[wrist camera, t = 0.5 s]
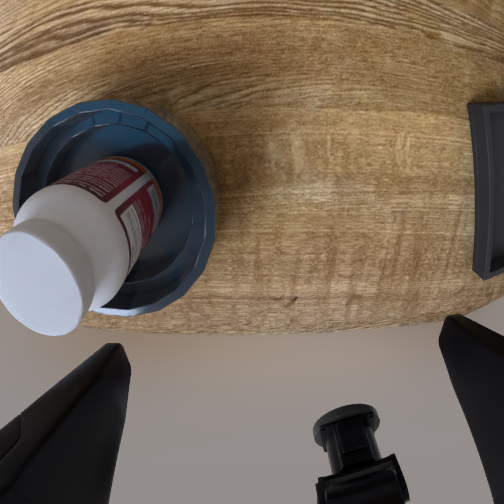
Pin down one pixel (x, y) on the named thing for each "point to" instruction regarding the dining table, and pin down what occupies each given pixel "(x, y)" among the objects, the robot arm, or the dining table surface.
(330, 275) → the dining table surface
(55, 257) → the pill bottle
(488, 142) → the tray
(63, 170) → the bowl
